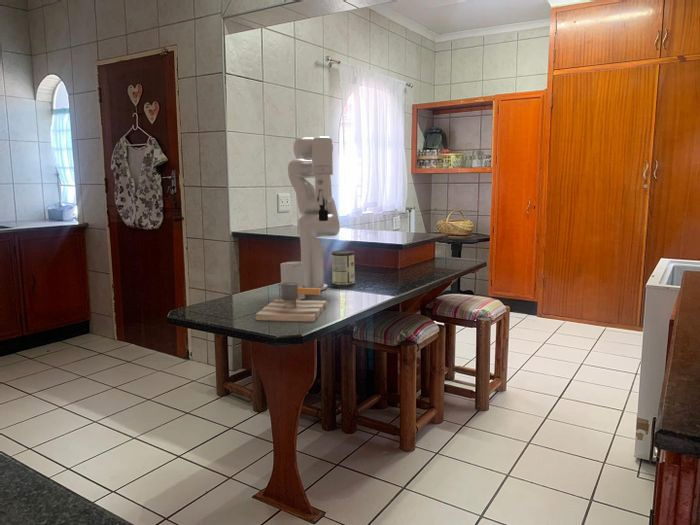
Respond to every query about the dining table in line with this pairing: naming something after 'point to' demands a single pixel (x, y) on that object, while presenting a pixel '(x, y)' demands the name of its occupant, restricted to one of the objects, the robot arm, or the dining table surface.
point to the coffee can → (343, 267)
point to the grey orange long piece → (296, 291)
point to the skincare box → (293, 274)
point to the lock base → (292, 310)
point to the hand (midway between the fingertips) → (323, 220)
